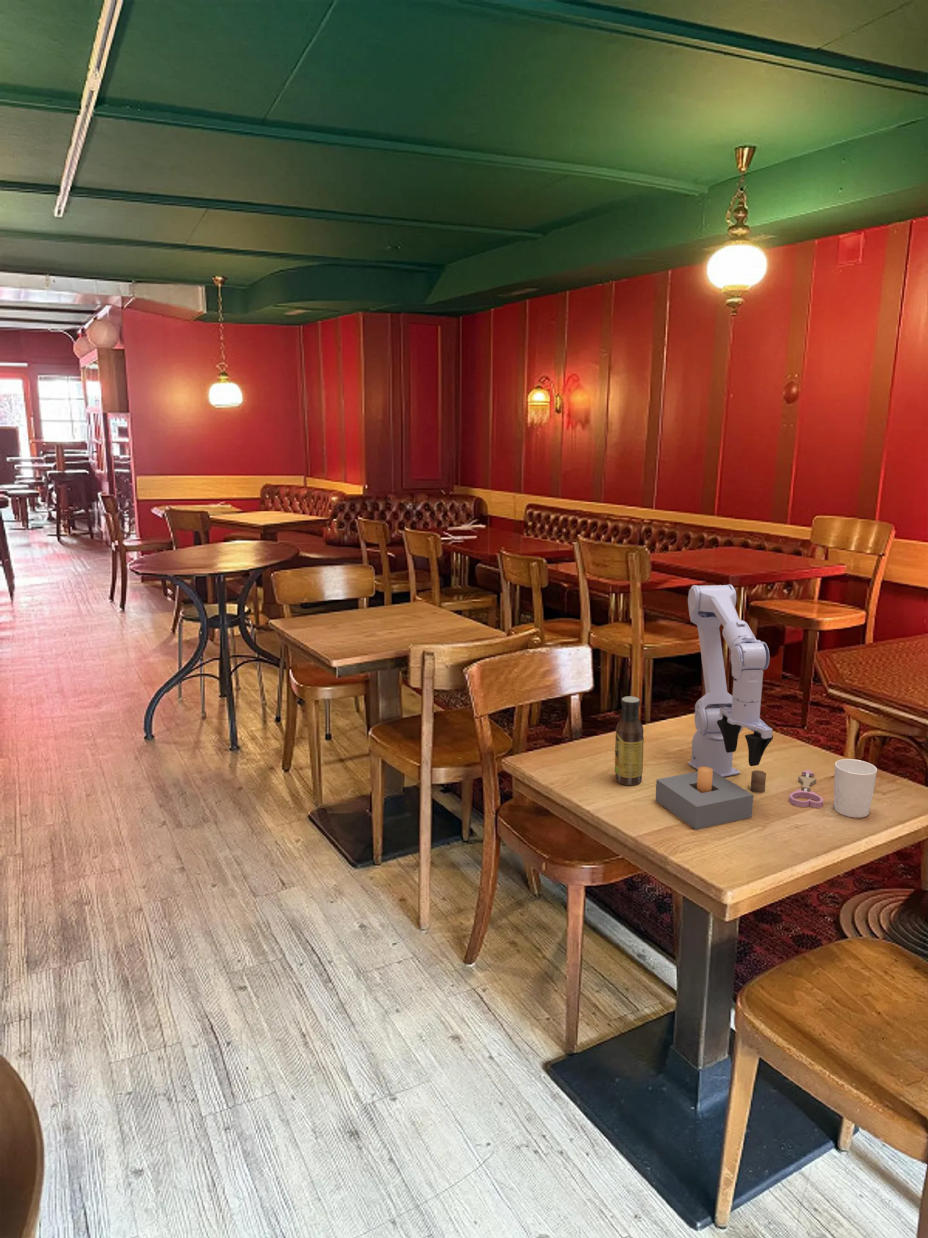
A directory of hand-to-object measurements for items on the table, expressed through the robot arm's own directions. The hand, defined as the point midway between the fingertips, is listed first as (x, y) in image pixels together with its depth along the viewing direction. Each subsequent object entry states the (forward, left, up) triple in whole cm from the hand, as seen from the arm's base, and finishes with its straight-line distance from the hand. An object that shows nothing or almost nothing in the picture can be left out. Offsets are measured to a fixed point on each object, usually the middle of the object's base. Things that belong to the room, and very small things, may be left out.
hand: (742, 758), depth 175 cm
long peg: (+1, -10, -9) cm, 14 cm away
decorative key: (+3, +19, -9) cm, 21 cm away
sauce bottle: (-17, -17, -10) cm, 26 cm away
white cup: (+14, +18, -10) cm, 24 cm away
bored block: (+1, -10, -9) cm, 14 cm away
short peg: (-2, +7, -9) cm, 12 cm away
